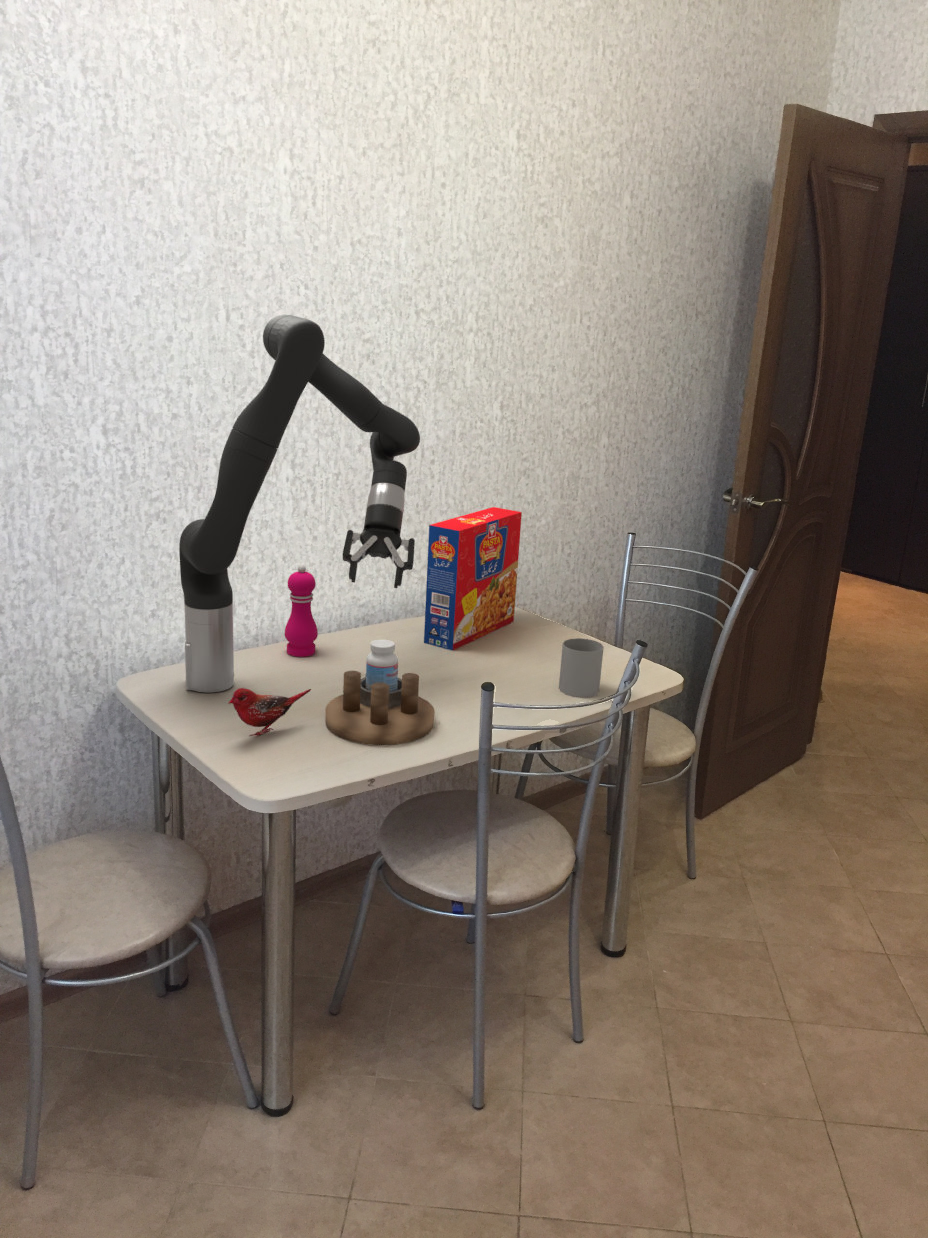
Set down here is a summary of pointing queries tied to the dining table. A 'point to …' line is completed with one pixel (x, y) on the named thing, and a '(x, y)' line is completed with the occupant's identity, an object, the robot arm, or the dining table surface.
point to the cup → (580, 667)
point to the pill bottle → (382, 665)
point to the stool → (379, 712)
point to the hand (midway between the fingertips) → (374, 584)
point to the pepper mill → (301, 615)
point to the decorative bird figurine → (261, 707)
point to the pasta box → (471, 576)
